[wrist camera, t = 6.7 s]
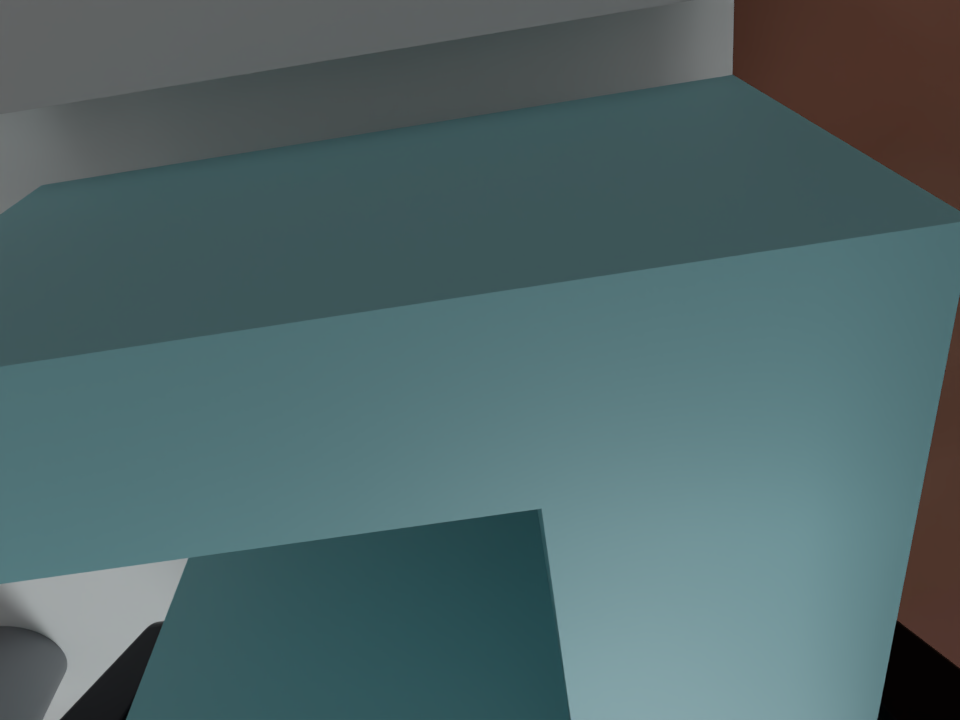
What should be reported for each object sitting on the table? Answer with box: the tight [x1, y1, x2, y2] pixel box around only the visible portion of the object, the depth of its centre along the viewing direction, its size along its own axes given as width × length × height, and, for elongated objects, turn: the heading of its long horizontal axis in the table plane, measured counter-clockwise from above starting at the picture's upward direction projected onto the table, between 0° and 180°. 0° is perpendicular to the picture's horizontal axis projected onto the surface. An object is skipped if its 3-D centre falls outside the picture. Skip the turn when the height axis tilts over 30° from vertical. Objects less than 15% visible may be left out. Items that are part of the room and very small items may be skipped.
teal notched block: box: [0, 75, 960, 720], centre depth 9 cm, size 7×11×4 cm, turn 8°
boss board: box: [0, 0, 734, 720], centre depth 10 cm, size 16×15×6 cm
